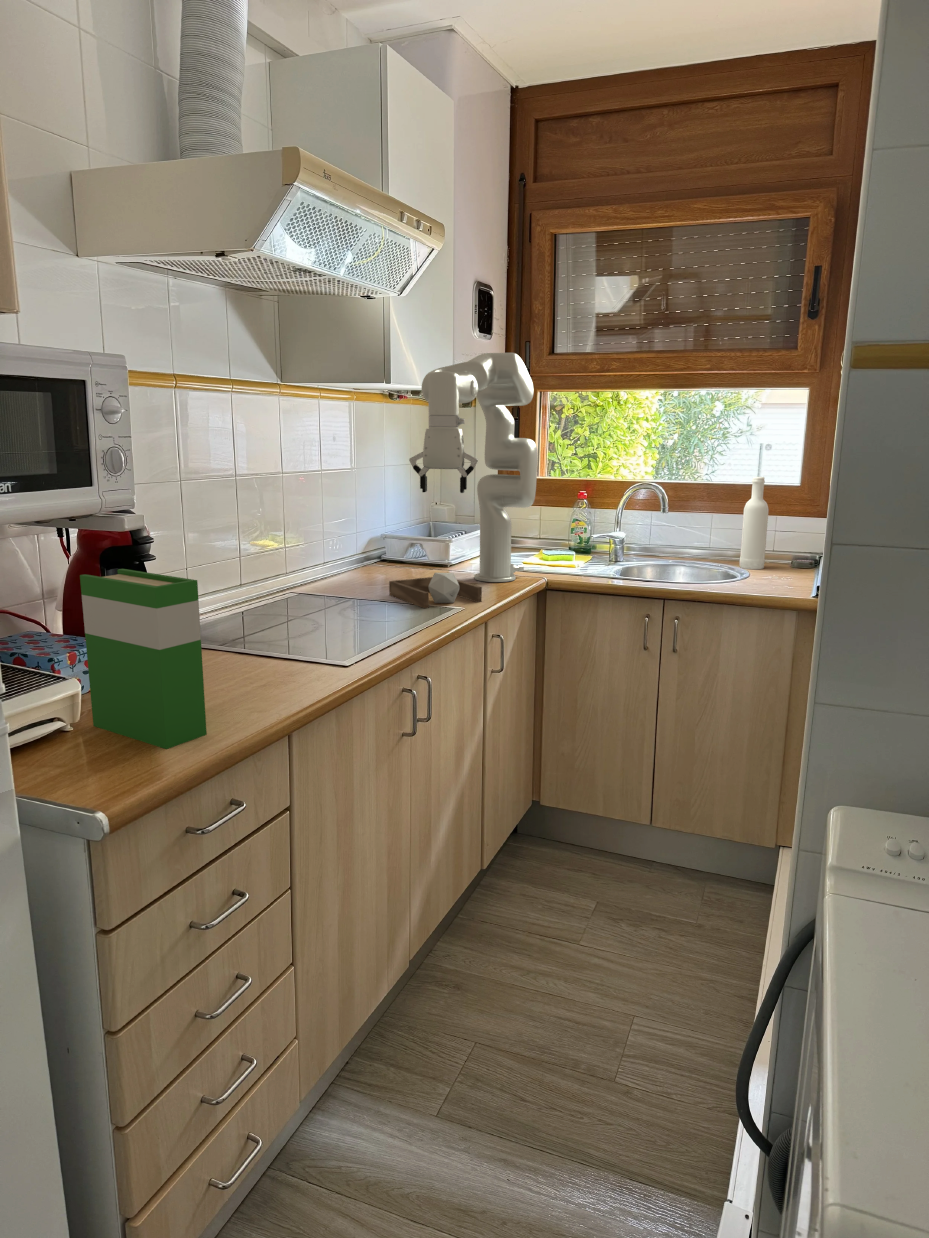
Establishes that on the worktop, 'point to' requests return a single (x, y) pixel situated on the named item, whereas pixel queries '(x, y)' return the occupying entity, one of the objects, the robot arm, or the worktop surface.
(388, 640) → the worktop surface
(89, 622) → the hardback book
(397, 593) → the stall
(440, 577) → the die
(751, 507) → the bottle
